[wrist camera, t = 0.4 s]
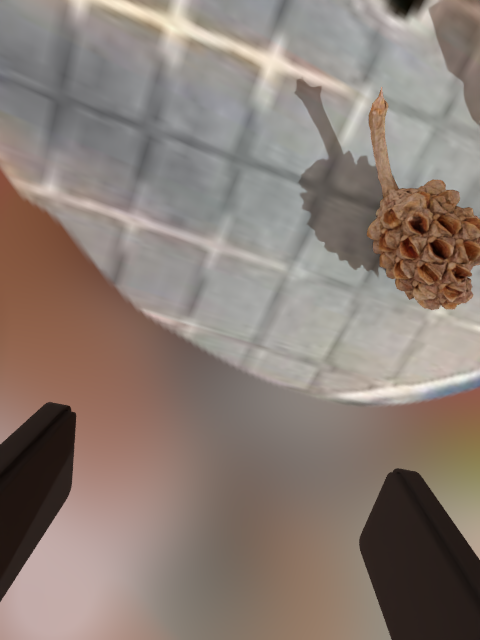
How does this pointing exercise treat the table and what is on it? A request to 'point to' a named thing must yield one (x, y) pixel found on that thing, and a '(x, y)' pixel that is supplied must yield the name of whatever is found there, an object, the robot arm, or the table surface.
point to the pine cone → (422, 232)
